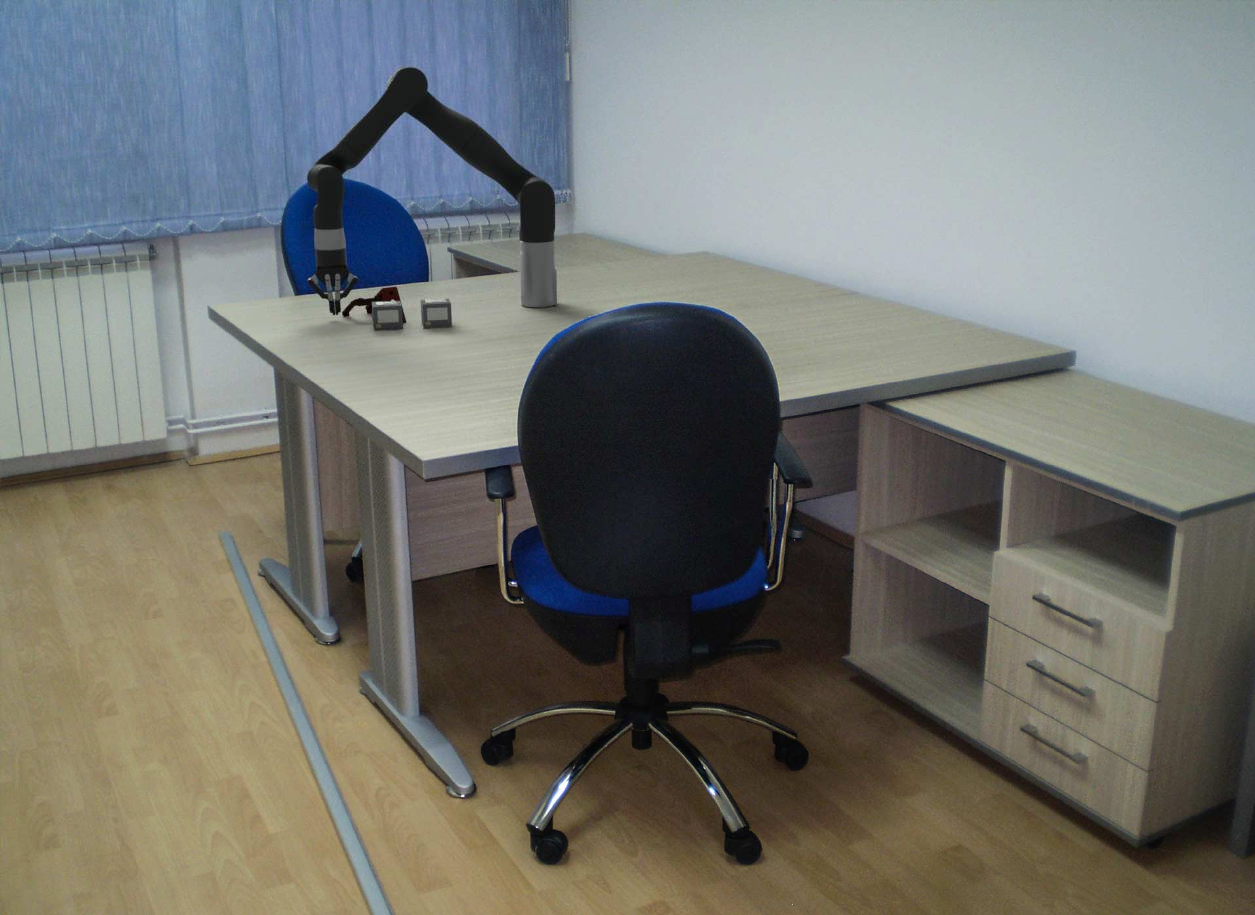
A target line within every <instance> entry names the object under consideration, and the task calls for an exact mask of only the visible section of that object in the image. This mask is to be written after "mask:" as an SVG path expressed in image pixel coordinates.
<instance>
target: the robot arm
mask: <svg viewBox="0 0 1255 915" xmlns="http://www.w3.org/2000/svg"><path fill="white" fill-rule="evenodd" d="M428 82H429V81H428V79H427V77H426V75H425V73H424V72H423V71H422V70H421V69H419V68H417V67H414V66H404V67H401V68H399V69H397V70H396V71H395V72H394V73H393V74H392V75H391V76H390V77H389V78H388V80H387V82H386V89H385V91H384V93H383V94H382V95H381V97H380V98H379V100H378V101H377V102H376V103H375V104H374V105H373V106H371V108H370V110H368V111H367V112H366V113H365V114H364V115H363V116H362V117H360V119H359V120H358V121H357V122H356V123H355V124H354V125H353V126H352V127H351V128H349V130H348V131H347V132H346V133H345V134H344V135H343V137H342V138H341V139H340V140H339V141H338V142H337V143H336V145H335V146H334V147H333V148H332V149H330V150H329V151H327V152H326V153H325V154H324V155H322V156H321V157H320V158H319V159H317V161H315V162H314V164H312V165H311V167H309V170H308V172H307V175H306V181H307V182H306V183H307V184H308V186H309V188H310V189H311V190H313V191H314V192H316V193H317V203H316V205H315V206H313V211H312V212H313V215H312V216H313V225H314V232H313V233H314V234H313V235H314V236H313V240H314V244H313V245H314V253H315V263H316V264H315V267H316V269H315V271H314V275H313V276H311V277H309V278H308V279H307V284H308V285H309V286H310V287H311V288H312V290H314V292H316V293H317V295H318V296H319V297H320V298H321V299H322V300H323V299H325V300H327V301H328V309H329V313H330V314H332V316H338V315H339V313H342V312H341V311H342V307H341V300H342V299H345V298H347V297H348V295H349V294H350V293H351V291H352V290H353V288H354V287H355V285H356V284H358V281H359V279H358V276H356V275H354V274H352V273H351V272H350V269H349V267H348V261H347V260H348V259H347V246H346V245H347V242H346V236H345V231H344V220H343V204H344V197H345V180H344V174H345V173H346V172H347V171H349V170H352V169H355V168H356V167H357V166H358V165H359V164H360V163H361V162H362V161H363V160H364V159H365V158H366V157H367V156H368V155H369V153H370V152H371V151H372V150H373V149H374V147H375V146H376V145H377V143H379V141H380V140H381V139H382V137H383V136H384V135H385V134H386V133H387V131H388V130H389V129H390V128H391V127H392V125H394V124H395V122H396V121H397V120H398V119H399V118H400V117H401V116H402V115H403V114H404V113H406V114H407V115H409V116H410V117H411V118H414V119H415V120H416V121H418V122H419V123H421V124H422V125H423V126H424V127H426V128H428V130H429V131H431V132H432V134H434V135H435V136H436V137H437V138H438V139H439V140H440V141H441V142H442V143H443V144H445V145H446V146H447V147H448V148H449V149H451V150H452V151H453V152H454V153H455V154H457V155H458V156H459V157H460V158H461V159H462V160H464V161H465V162H466V163H467V164H469V165H470V166H471V167H472V168H474V169H476V170H477V171H478V172H480V173H481V174H484V175H485V176H486V177H488V178H490V179H492V180H493V181H495V182H496V183H497V184H499V186H501V187H502V188H503V189H504V190H505V191H506V192H507V193H508V194H510V195H511V197H512V198H513V199H514V200H515V201H516V202H517V203H518V205H519V211H520V212H519V220H520V222H519V223H520V224H519V231H518V232H519V234H518V236H519V271H520V272H519V273H520V300H521V301H520V303H521V306H523V307H527V308H549V307H553V305H555V306H558V282H557V281H558V280H557V278H558V277H557V276H558V275H557V273H558V272H557V269H556V266H555V264H556V263H555V257H556V256H555V232H556V231H555V230H556V195H555V192H554V189H553V187H552V186H551V185H550V184H549V183H548V182H547V181H545V180H544V179H542V178H540V177H539V176H537V175H535V174H534V173H532V172H531V171H529V170H528V169H526V168H525V167H524V166H522V165H521V164H519V163H518V162H517V161H516V160H515V159H514V158H513V157H512V156H511V154H509V153H508V152H507V150H506V149H505V148H504V147H503V146H502V145H501V143H499V142H498V141H497V140H496V139H495V138H494V137H493V136H492V135H491V134H490V133H489V132H487V130H485V129H484V128H483V127H482V126H481V125H479V124H478V123H477V122H475V121H474V120H472V119H471V118H469V117H468V116H465V115H464V114H462V113H460V112H458V111H457V110H453V109H452V108H449V107H448V106H446V105H445V104H443V103H442V102H440V101H439V100H438V99H437V98H436V96H434V95H433V94H432V93H430V92H429V90H428V89H429V83H428ZM318 280H319V281H320V283H321V284H322V285H323V286H324V287H326V292H327V293H326V292H325V291H324V290H323V289H322V288H321V287H320V285H319V284H318V283H319V281H318ZM346 280H347V282H348V284H347V285H346V286H345V288H344V289H343V291H342V292H341V286H342V285H344V283H345V281H346ZM332 287H334V294H333V288H332ZM548 306H549V307H548Z"/></svg>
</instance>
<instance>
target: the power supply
mask: <svg viewBox="0 0 1255 915" xmlns="http://www.w3.org/2000/svg"><path fill="white" fill-rule="evenodd" d="M401 303H402V301H401V302H400V301H395V300H391V301H385V302H372V313H371V314H372V315H371V316H372V326H373V331H374V332H378V331H379V332H381V331H383V332H384V331H398V330H399V331H401V330H402V331H403V330H404V324H403V316H402V307H403V304H401Z"/></svg>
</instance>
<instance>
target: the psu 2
mask: <svg viewBox="0 0 1255 915" xmlns="http://www.w3.org/2000/svg"><path fill="white" fill-rule="evenodd" d="M420 315H421V317H420V318H421V325H422V327H423V329H436V328H437V329H439V328H442V329H443V328H453V318H452V302H451V300H450V299H449V298H431V299H429V298H428V299H420Z"/></svg>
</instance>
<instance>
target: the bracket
mask: <svg viewBox="0 0 1255 915" xmlns="http://www.w3.org/2000/svg"><path fill="white" fill-rule="evenodd" d="M385 301H400V302H401V304H402V300H401V297H400V294H399V289H398V287H397V286H388V287H382V288H381V289H380V290H379V291H378V292H377V293H376V294H375V295H374V296H373V297H370V298H369V297H368V298H363V297H358V298H355V299H353V300H351V301H350V302H349V304H348V305H347V306H346V307H345V308H344V309H343V311H342V312H341V314H342V317H344V318H345V317H350V315H351V314H350V312H351V311H352V310H353V309H354V307H364V308H365V311H366V314H372V302H385ZM402 305H403V304H402ZM402 316H403V325H404V324H407V319H406V315H405V311H404V308H403V306H402Z"/></svg>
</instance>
